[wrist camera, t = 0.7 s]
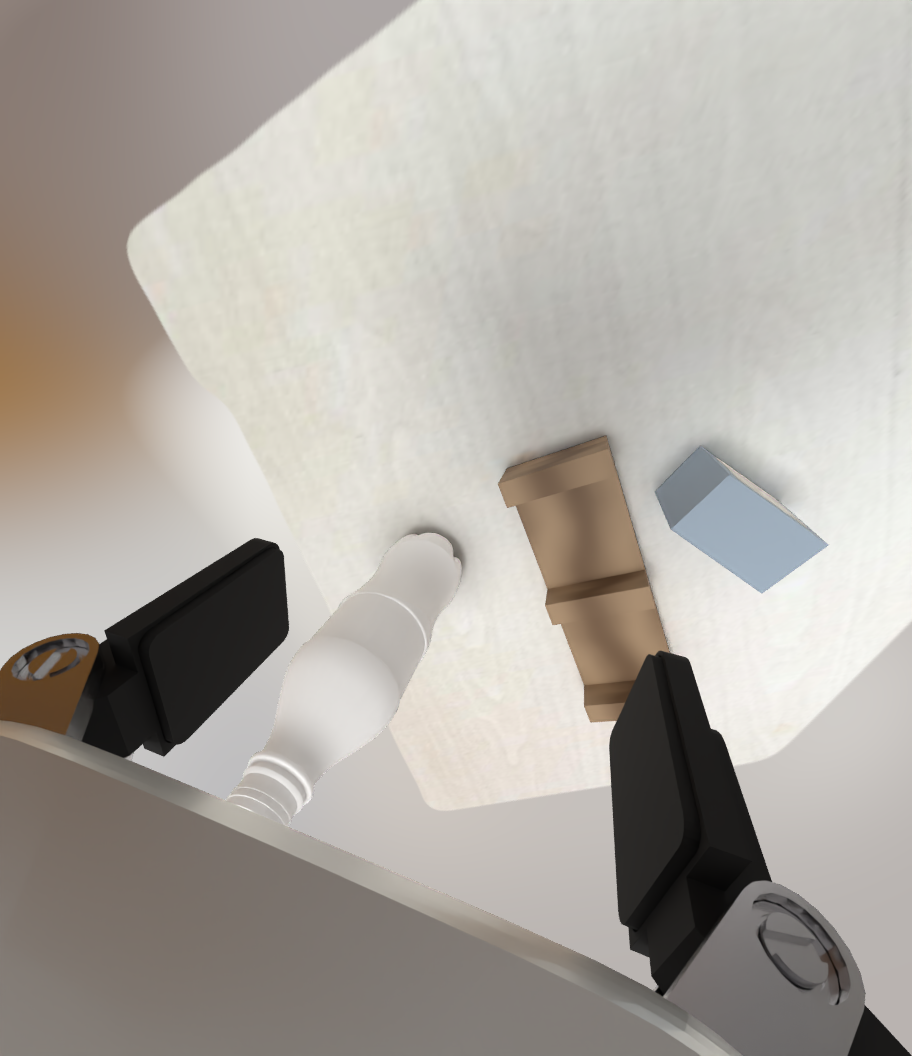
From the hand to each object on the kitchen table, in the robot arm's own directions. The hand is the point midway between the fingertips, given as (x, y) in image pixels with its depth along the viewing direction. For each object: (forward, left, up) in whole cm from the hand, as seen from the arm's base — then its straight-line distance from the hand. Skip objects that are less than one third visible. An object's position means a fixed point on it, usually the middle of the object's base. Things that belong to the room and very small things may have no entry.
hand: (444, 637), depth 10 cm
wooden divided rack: (0, +14, -25) cm, 29 cm away
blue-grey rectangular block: (-10, +9, -25) cm, 29 cm away
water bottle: (+14, +8, -25) cm, 30 cm away
